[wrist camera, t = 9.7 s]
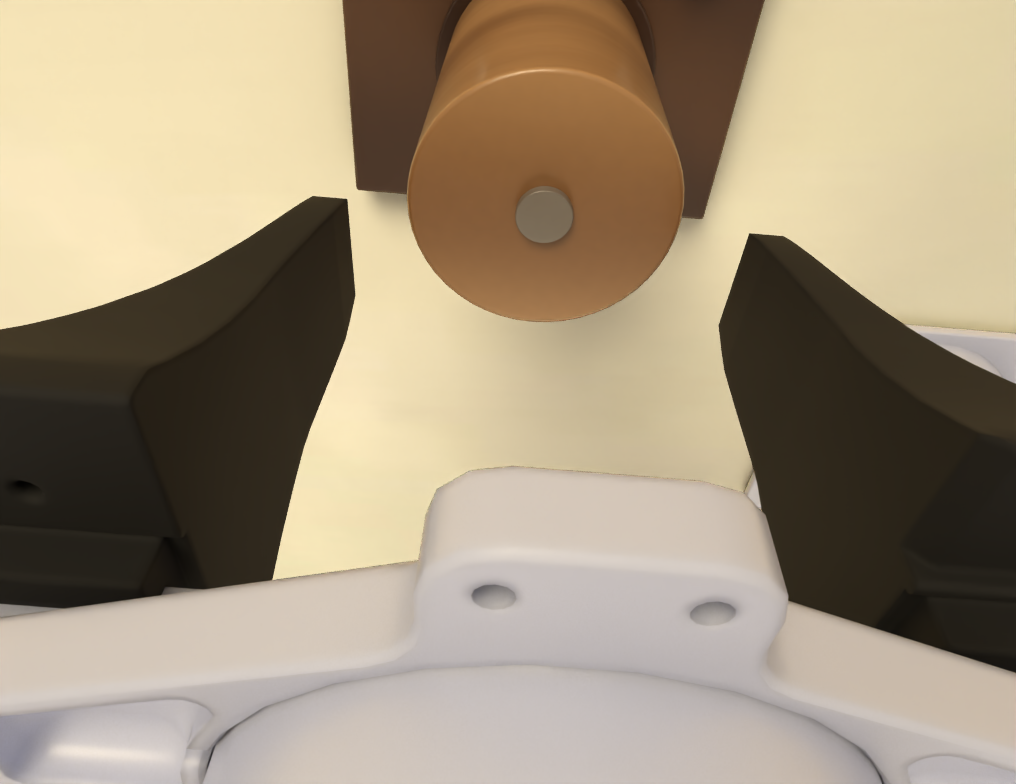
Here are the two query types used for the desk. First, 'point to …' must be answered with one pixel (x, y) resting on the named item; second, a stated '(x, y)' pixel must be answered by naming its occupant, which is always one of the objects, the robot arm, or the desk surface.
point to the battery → (545, 158)
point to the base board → (412, 81)
